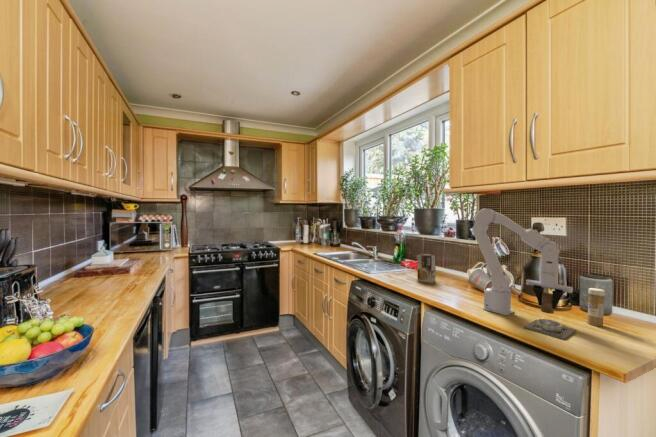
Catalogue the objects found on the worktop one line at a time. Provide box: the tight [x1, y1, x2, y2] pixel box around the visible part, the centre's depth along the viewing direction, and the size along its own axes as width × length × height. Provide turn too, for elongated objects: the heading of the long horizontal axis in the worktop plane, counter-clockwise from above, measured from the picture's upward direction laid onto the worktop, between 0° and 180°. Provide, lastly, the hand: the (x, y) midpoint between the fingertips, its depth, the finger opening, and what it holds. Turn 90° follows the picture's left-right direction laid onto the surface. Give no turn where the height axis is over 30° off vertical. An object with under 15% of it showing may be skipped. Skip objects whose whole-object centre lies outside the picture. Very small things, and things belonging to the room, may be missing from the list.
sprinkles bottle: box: [586, 287, 606, 327], centre depth 108 cm, size 5×5×13 cm
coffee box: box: [416, 253, 437, 284], centre depth 175 cm, size 9×6×16 cm
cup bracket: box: [523, 318, 577, 341], centre depth 103 cm, size 12×12×2 cm
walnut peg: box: [540, 292, 555, 314], centre depth 112 cm, size 4×4×7 cm
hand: (547, 306), depth 112 cm, fingers closed on walnut peg, 4 cm apart
